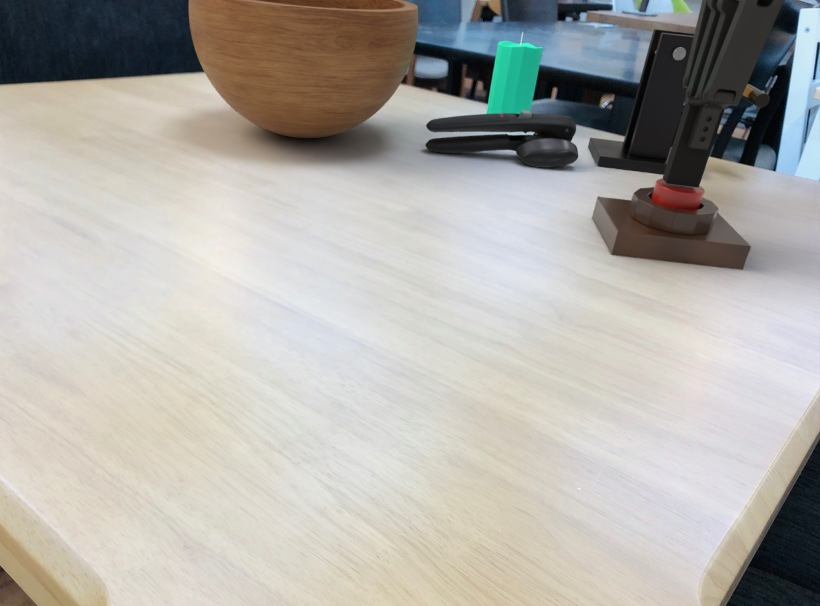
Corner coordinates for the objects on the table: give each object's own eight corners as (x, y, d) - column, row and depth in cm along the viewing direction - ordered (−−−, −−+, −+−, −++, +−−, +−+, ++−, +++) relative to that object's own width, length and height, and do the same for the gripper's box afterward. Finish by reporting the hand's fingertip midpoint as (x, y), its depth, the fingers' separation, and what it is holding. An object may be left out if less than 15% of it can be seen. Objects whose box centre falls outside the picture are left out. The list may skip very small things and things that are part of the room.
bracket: (682, 158, 91) (720, 34, 83) (700, 178, 83) (745, 44, 76) (587, 146, 92) (617, 23, 84) (597, 166, 84) (631, 31, 77)
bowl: (421, 127, 93) (437, 1, 85) (376, 180, 72) (392, 19, 64) (244, 100, 97) (244, -22, 90) (152, 143, 76) (142, -12, 68)
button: (690, 200, 63) (696, 181, 62) (704, 215, 60) (711, 195, 59) (645, 194, 63) (651, 176, 63) (657, 210, 60) (663, 190, 59)
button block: (707, 231, 67) (721, 191, 65) (742, 270, 59) (759, 226, 57) (591, 218, 68) (602, 177, 66) (611, 255, 60) (623, 210, 58)
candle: (531, 132, 96) (550, 37, 90) (487, 128, 96) (503, 32, 90) (523, 121, 101) (541, 31, 95) (482, 117, 101) (497, 26, 95)
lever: (744, 102, 85) (757, 84, 84) (760, 113, 80) (775, 94, 79) (650, 50, 84) (663, 31, 83) (661, 58, 79) (675, 37, 78)
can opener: (565, 156, 86) (576, 109, 84) (578, 173, 80) (590, 123, 78) (421, 142, 86) (427, 94, 83) (423, 158, 80) (430, 107, 77)
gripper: (705, -144, 55) (623, 156, 67) (762, -165, 44) (651, 201, 55) (805, -135, 54) (704, 167, 66) (889, -154, 43) (749, 214, 55)
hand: (680, 182), depth 61 cm, fingers closed
